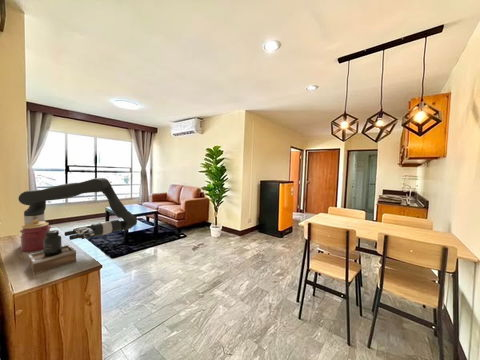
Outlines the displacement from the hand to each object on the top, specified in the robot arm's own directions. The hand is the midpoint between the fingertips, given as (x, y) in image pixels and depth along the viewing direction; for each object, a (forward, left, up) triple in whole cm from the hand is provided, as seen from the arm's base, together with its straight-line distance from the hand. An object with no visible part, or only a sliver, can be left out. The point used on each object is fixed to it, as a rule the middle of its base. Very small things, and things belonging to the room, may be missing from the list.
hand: (67, 236), depth 108 cm
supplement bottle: (0, -6, -8) cm, 10 cm away
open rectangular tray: (0, -6, -13) cm, 14 cm away
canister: (-31, -7, -13) cm, 35 cm away
